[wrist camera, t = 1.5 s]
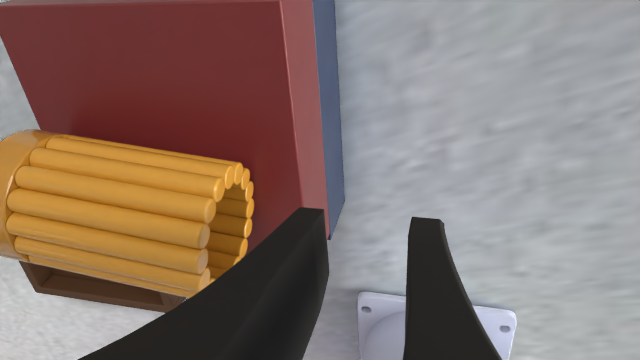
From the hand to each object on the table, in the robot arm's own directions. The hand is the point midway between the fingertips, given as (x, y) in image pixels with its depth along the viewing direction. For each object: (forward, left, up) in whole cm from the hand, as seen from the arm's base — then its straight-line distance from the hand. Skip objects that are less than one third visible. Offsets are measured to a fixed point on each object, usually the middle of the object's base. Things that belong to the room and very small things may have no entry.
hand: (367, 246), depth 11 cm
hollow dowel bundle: (0, +8, -3) cm, 9 cm away
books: (0, +7, -9) cm, 12 cm away
